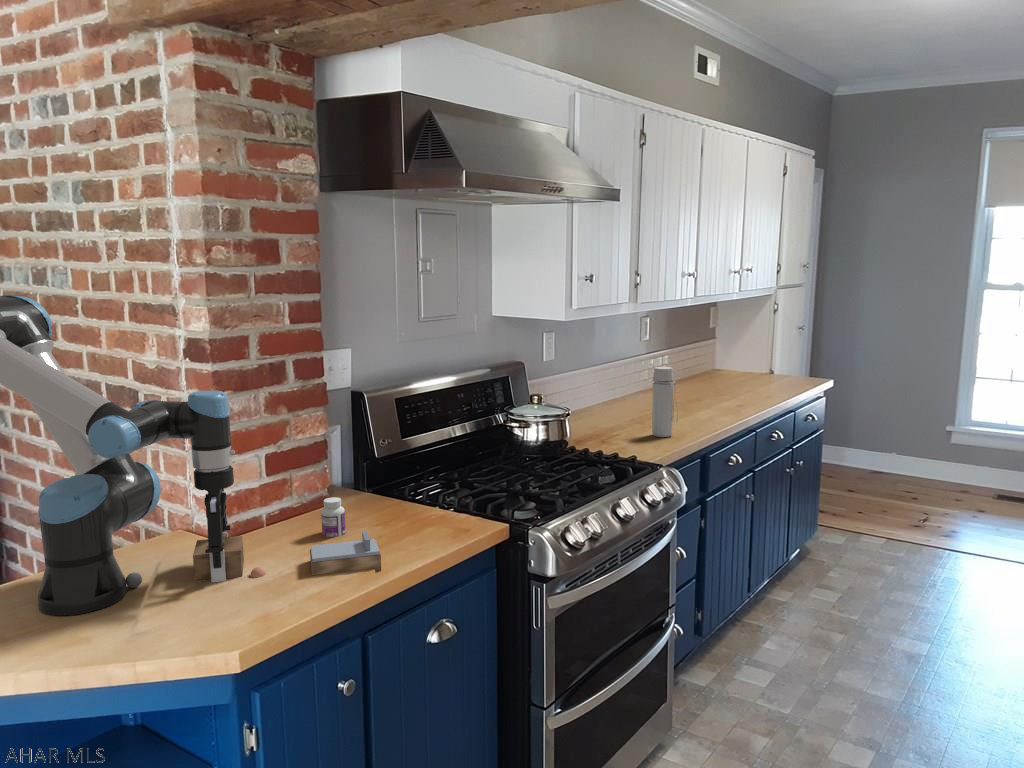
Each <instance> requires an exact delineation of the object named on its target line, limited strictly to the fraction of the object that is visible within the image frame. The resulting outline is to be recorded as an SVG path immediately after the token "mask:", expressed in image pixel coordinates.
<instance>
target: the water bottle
mask: <svg viewBox="0 0 1024 768" xmlns="http://www.w3.org/2000/svg"><path fill="white" fill-rule="evenodd" d="M676 383H677V381H674V368H673V367H670V366H656V367H654V368H653V376H652V411H651V412H652V414H651V415H652V416H651V417H652V421H651V422H652V423H651V424H652V425H651V433H652V436H654V437H657V438H668V437H671V436H672V435H673V423H674V424H677V423H678V421H679V420H678V419H679V418H678V417H679V414H678V413H679V411H678V410H676V415H677V417H676V421H675V420H674V419H673V415H674V414H675V413H674V411H675V408H674V407H675V406H678V404H677V403H678V402H677V400H675V401H674V395H677V394H676V393H677V392H676ZM675 404H676V405H675Z"/></svg>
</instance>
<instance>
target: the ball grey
mask: <svg viewBox="0 0 1024 768" xmlns="http://www.w3.org/2000/svg"><path fill="white" fill-rule="evenodd" d="M125 580H126V587H129V588H130V589H135V588H138V587H140V586H141V584H142V581H143V577H142V575H141V574H140V573H138V572H131V573H129V574H127V576H126V577H125Z"/></svg>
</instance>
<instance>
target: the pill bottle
mask: <svg viewBox="0 0 1024 768" xmlns="http://www.w3.org/2000/svg"><path fill="white" fill-rule="evenodd" d="M320 517H321V532H322V536H323V537H326V538H336V537H337V538H338V537H342V536H344V535H346V533H347V528H346V512H345V508H344V507H343V506H342V498H341V497H335V496H333V497H327V498H325V499H324V500H323V508H322V509H321V513H320Z"/></svg>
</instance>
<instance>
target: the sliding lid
mask: <svg viewBox="0 0 1024 768" xmlns="http://www.w3.org/2000/svg"><path fill="white" fill-rule="evenodd" d="M361 537H362V539H361V540H352V541H351V540H350V541H343V542H334V543H333V542H332V543H324V544H316V545H310V549H311V554H312V562H318V561H327V560H336V559H344V558H353V557H362V556H371V555H379V554H381V552H380V548H379V546H378V543H377V540H376V538H371V539H370V536H369V533H368V530H362V531H361Z"/></svg>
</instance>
